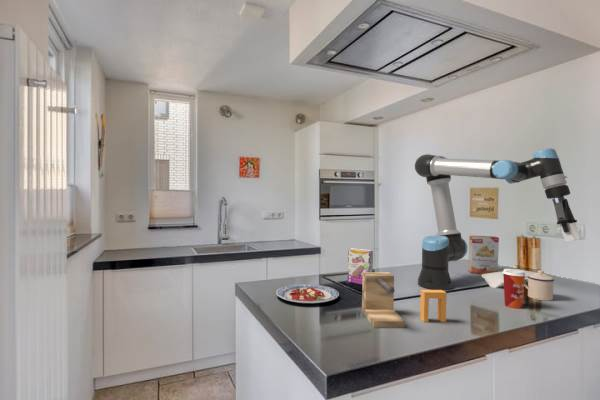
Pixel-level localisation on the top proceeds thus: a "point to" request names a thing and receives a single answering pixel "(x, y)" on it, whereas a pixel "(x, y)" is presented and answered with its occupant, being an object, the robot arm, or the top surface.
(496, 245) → the cracker box
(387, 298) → the wooden l-shaped stand
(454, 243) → the robot arm
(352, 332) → the top surface
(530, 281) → the teacup with lid
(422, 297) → the orange u-shaped bracket
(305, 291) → the ceramic plate
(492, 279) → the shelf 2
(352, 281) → the candy bar box
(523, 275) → the paper cup
